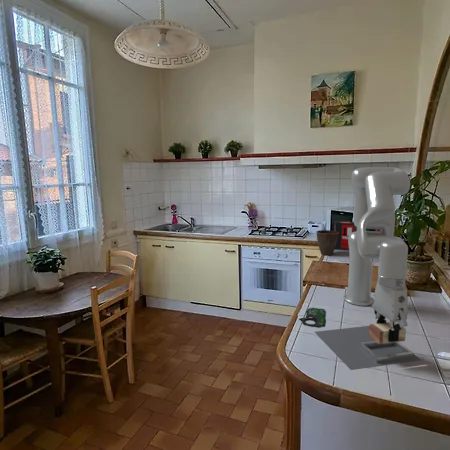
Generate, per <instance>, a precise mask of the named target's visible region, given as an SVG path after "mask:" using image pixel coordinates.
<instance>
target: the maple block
mask: <svg viewBox="0 0 450 450" xmlns="http://www.w3.org/2000/svg"><path fill="white" fill-rule="evenodd" d="M396 324H397V323H396V322H394V325H396ZM369 326H370V327H369V337H371V338H372V339H373V340H374V341H376V342H377V343H378V344H384V343H393V342H389V341H388V337H389V329H391V327H390V321H389V322H387V323H379V324H377V323H372V324H371V323H370V324H369ZM406 330H407V329H406V328H405V327H403V328H402V329H401V330H399V340H398V341H396V342H399V343H401V342H405V341H406V333H407V331H406Z"/></svg>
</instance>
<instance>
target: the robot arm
mask: <svg viewBox="0 0 450 450" xmlns="http://www.w3.org/2000/svg"><path fill="white" fill-rule="evenodd" d="M351 185H352V188H353V189H352V190H353V193H354V196H355V197H354V208H353V209H354V210H353V222H354V225H355V226H356V227H357V231H355V232H352V233H351V234H350V235H349V238H348V244H349V250H348V253H349V255H348V256H349V257H348V259H349V262H348V279H347V286H345V288H344V290H345V291H346V293H345V294H344V295H343V299H344V301H345V302H346V303H348V304H351V305H353V306H354V305H355V306H363V307H365V306H367V307H368V306H371V307H372V309H373V311H374V315H375V320H376V324H379V323H388V322H387V321H388V320H389V322H390V327H391V329H389V337H388V341H389V342H396V341H398V340H399V330H401V329H402V328H403V327H404V328H405V327H408V326H409V324H408V322H407V321H408V312H409V310H408V309H409V303H408V302H409V301H408V292H407V288H405V287H406V278H407V277H406V276H407V266H408V265H407V262H408V253H409V246H408V245H407V243H406V242H405V241H404V240H403V238H402V237H399V236H394V233H395V228H396V227H395V226H396V214H395V210H396V205H395V201H394V200H395V199H394V196H405V195H406V194H408V193H409V191H410V188H411V180H410V177H409V174H408V173H407V172H406V171H405V170H403V169H401V168H399V167H394V166H393V167H392V166H389V167H388V166H384V167H383V166H381V167H379V166H375V167H374V166H372V167H371V166H370V167H369V166H367V167H366V166H363V167H358V168H355V169H354V170H353V171H352V172H351ZM369 230H370V231H369ZM372 230H380V231H372ZM372 259H374V260H377V259H378V269H377V270H378V272H377V282H376V285H375V289H374V290H375V291H374V296H373V297H372V296H371V294H372V280H373V261H372ZM387 319H388V320H387ZM394 322H396V323H397V324H396V325H394Z"/></svg>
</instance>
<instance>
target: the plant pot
mask: <svg viewBox="0 0 450 450" xmlns="http://www.w3.org/2000/svg"><path fill="white" fill-rule="evenodd" d="M338 235H339V232H337V231H335V230H330V229H329V230H328V229H323V230H321V229H320V230H317V231H316V240H317V245H318V249H319V252H320V254H321V255H322V256H328V257H329V256H332V255H334V254H333V253H334V252H335V250H334V249H335V247H336V243H337V240H338Z"/></svg>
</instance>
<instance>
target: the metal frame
mask: <svg viewBox="0 0 450 450" xmlns="http://www.w3.org/2000/svg"><path fill="white" fill-rule="evenodd" d="M386 345H394V346H395V347H397V348H398V349H400V350H401V351H402V352H404V353H397V354H389V355H382V356H377V355H376V354H375V353H373V352H372V351H371V350H370V349H369V348H370V347H378V346H386ZM359 348H360V349H361V350H362V351H364V352H365V353H366V354H367V355H368V356H369V357H370V358H372V359H373V360H374V361H375V362H376V363H379V362H386V361H394V360H401V359H408V358H414V355H415V352H413V351H412V350H411V349H410V348H408V347H406V346H405V345H404V344H402V343H401V342H393V343H384V344H378V343H377V342H376V341H370V342H362V343H359Z"/></svg>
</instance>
